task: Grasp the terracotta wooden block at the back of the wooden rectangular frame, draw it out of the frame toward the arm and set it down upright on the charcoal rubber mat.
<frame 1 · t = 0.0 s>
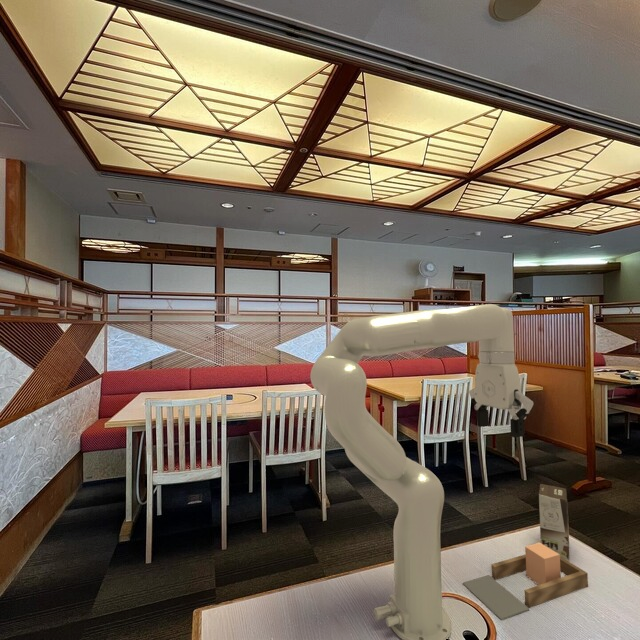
hand: (499, 431, 79), 37 cm above the table, tool pointing down, fingers open, 9 cm apart
coffee box: (555, 551, 92), on the table
mat: (494, 596, 75), on the table
block: (543, 580, 80), resting in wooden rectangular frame
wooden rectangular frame: (537, 582, 80), on the table
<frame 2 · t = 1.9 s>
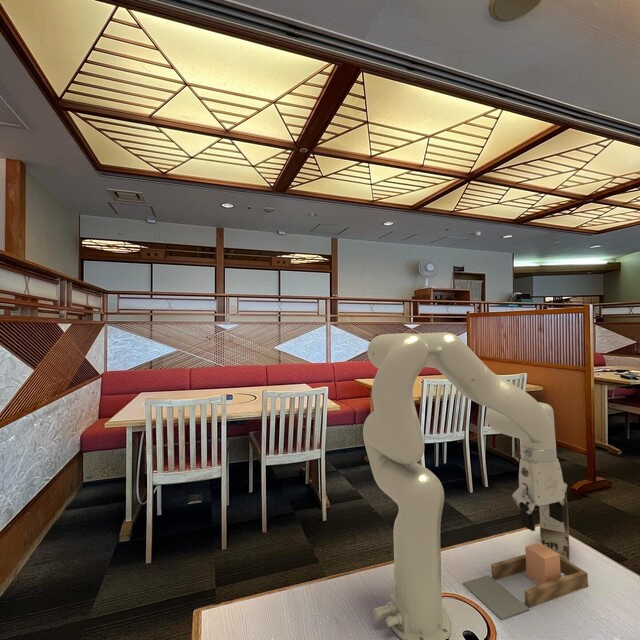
hand: (542, 523, 81), 13 cm above the table, tool pointing down, fingers open, 9 cm apart
nothing on the table moved.
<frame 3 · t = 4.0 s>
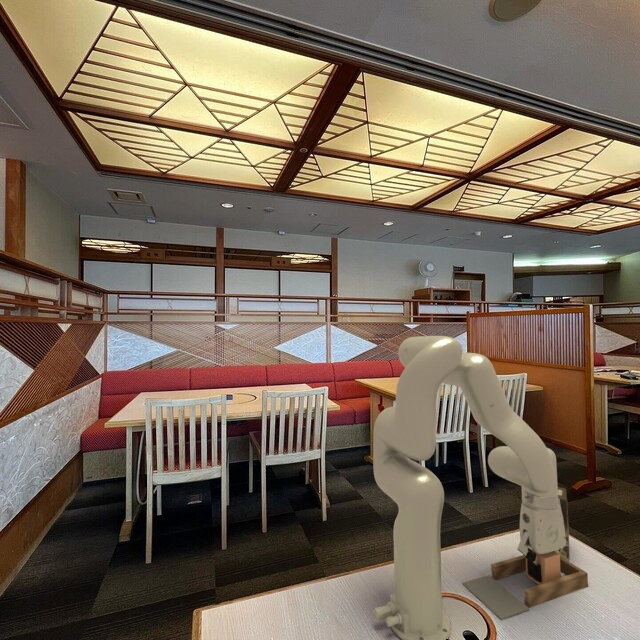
hand: (543, 574, 80), 1 cm above the table, tool pointing down, fingers closed on block, 5 cm apart
block: (543, 580, 80), resting in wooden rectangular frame, touching gripper
everything else where it was.
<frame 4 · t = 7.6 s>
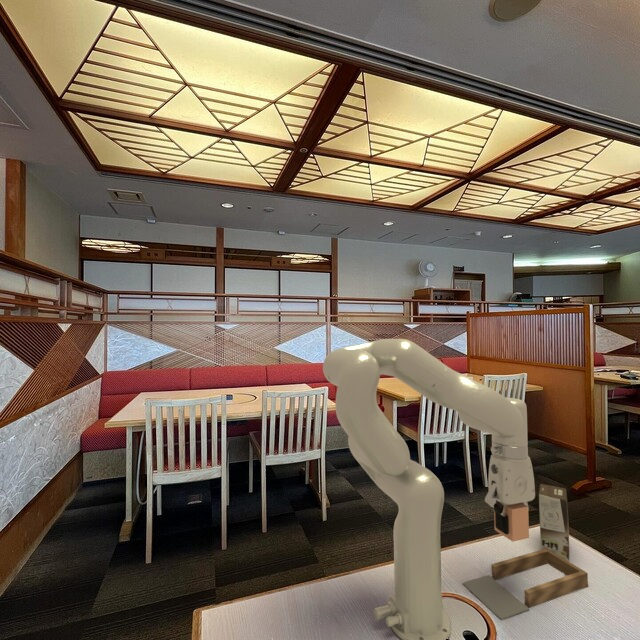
hand: (511, 528, 78), 14 cm above the table, tool pointing down, fingers closed on block, 5 cm apart
block: (511, 533, 78), point 13 cm above the table, touching gripper
everything else where it was.
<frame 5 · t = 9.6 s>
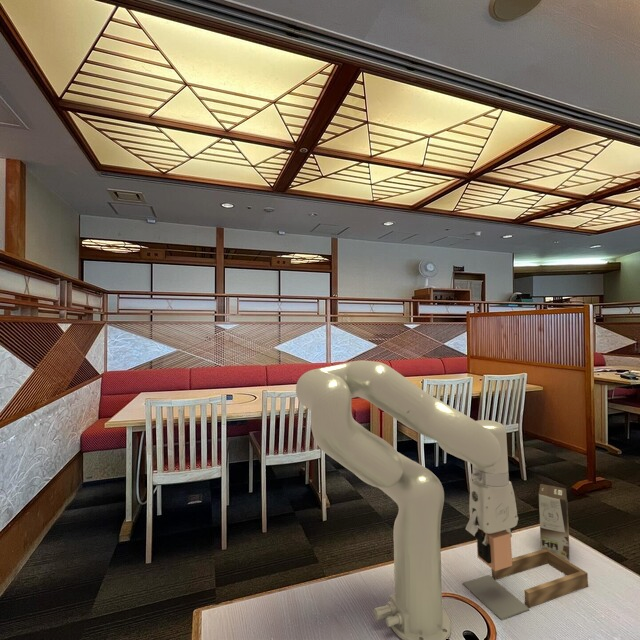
hand: (494, 555, 76), 9 cm above the table, tool pointing down, fingers closed on block, 5 cm apart
block: (494, 561, 76), point 8 cm above the table, touching gripper
everything else where it was.
when the fingers open (3 cm above the table, at t = 11.4 s): block drops 1 cm, resting on mat.
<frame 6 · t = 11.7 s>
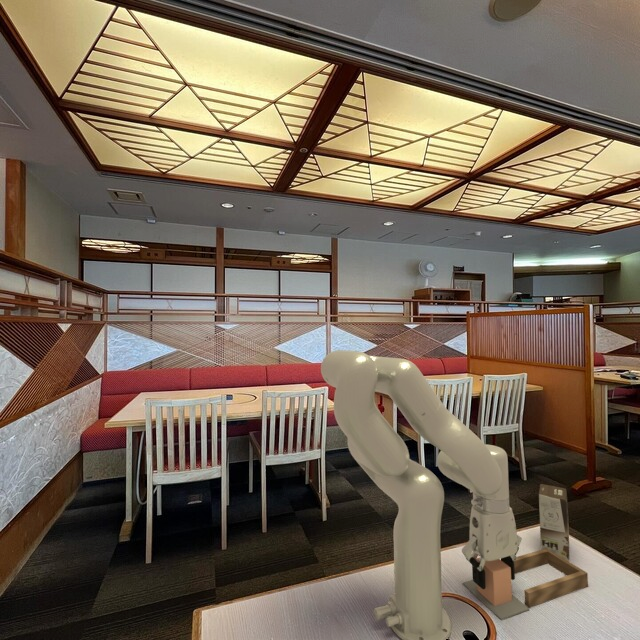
hand: (493, 579, 76), 4 cm above the table, tool pointing down, fingers open, 8 cm apart
block: (494, 595, 75), resting on mat
everything else where it was.
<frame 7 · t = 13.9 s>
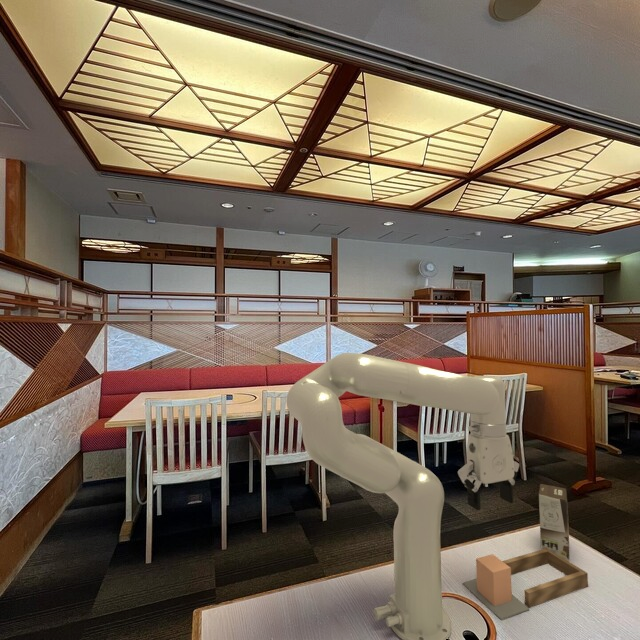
hand: (490, 503, 77), 20 cm above the table, tool pointing down, fingers open, 9 cm apart
nothing on the table moved.
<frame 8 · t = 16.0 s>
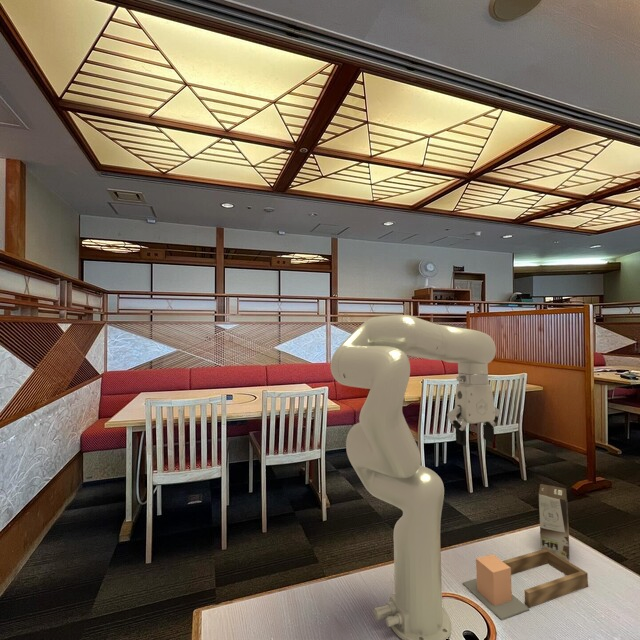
hand: (475, 442, 91), 30 cm above the table, tool pointing down, fingers open, 9 cm apart
nothing on the table moved.
at the end: block inside the target area (0.1 cm from its centre), resting on mat; block tilted 0°; the gripper is holding nothing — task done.
